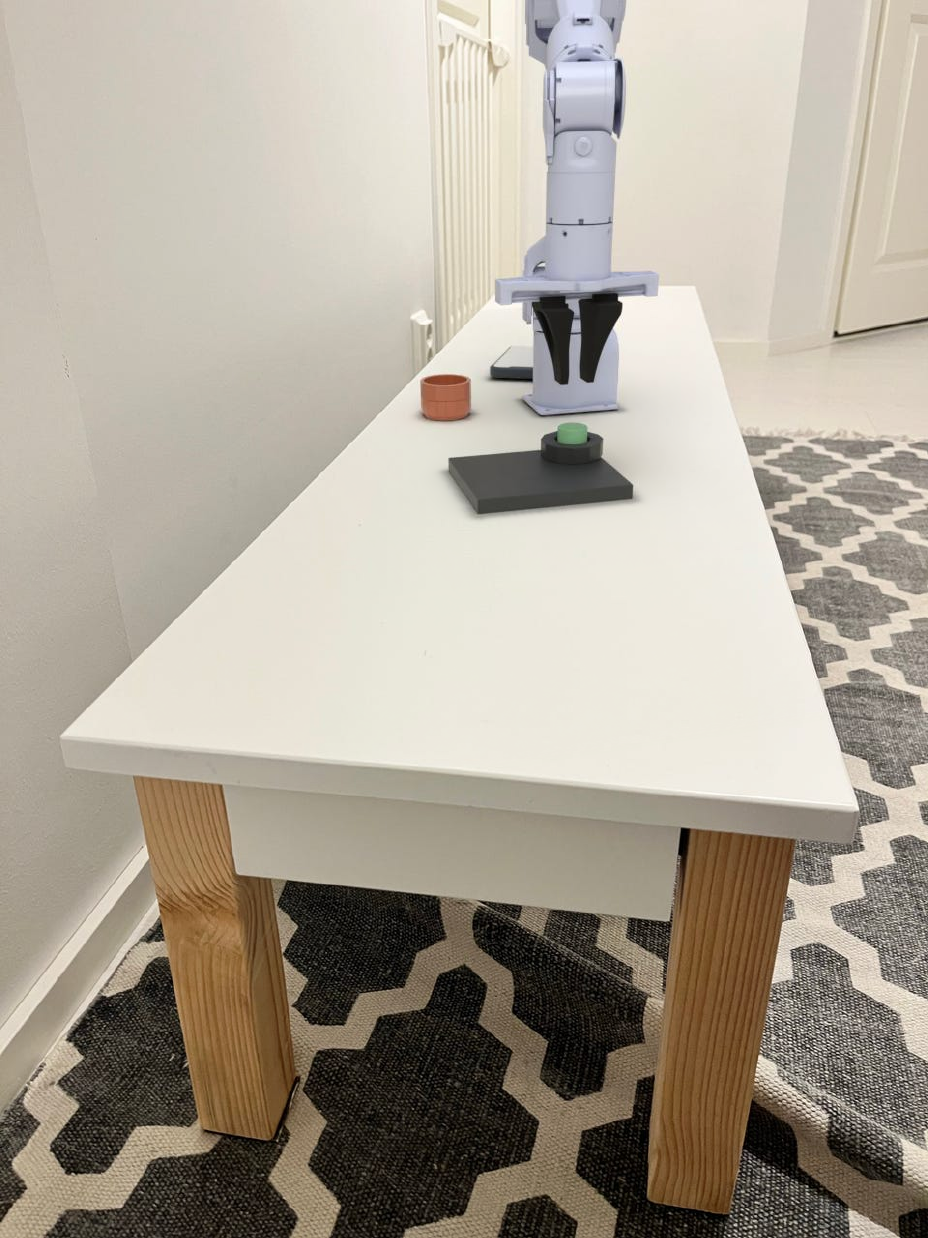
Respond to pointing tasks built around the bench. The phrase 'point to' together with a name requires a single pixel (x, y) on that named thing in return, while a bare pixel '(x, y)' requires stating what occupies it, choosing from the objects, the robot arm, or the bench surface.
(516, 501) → the scale
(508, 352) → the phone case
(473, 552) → the bench surface
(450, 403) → the bowl
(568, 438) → the button
